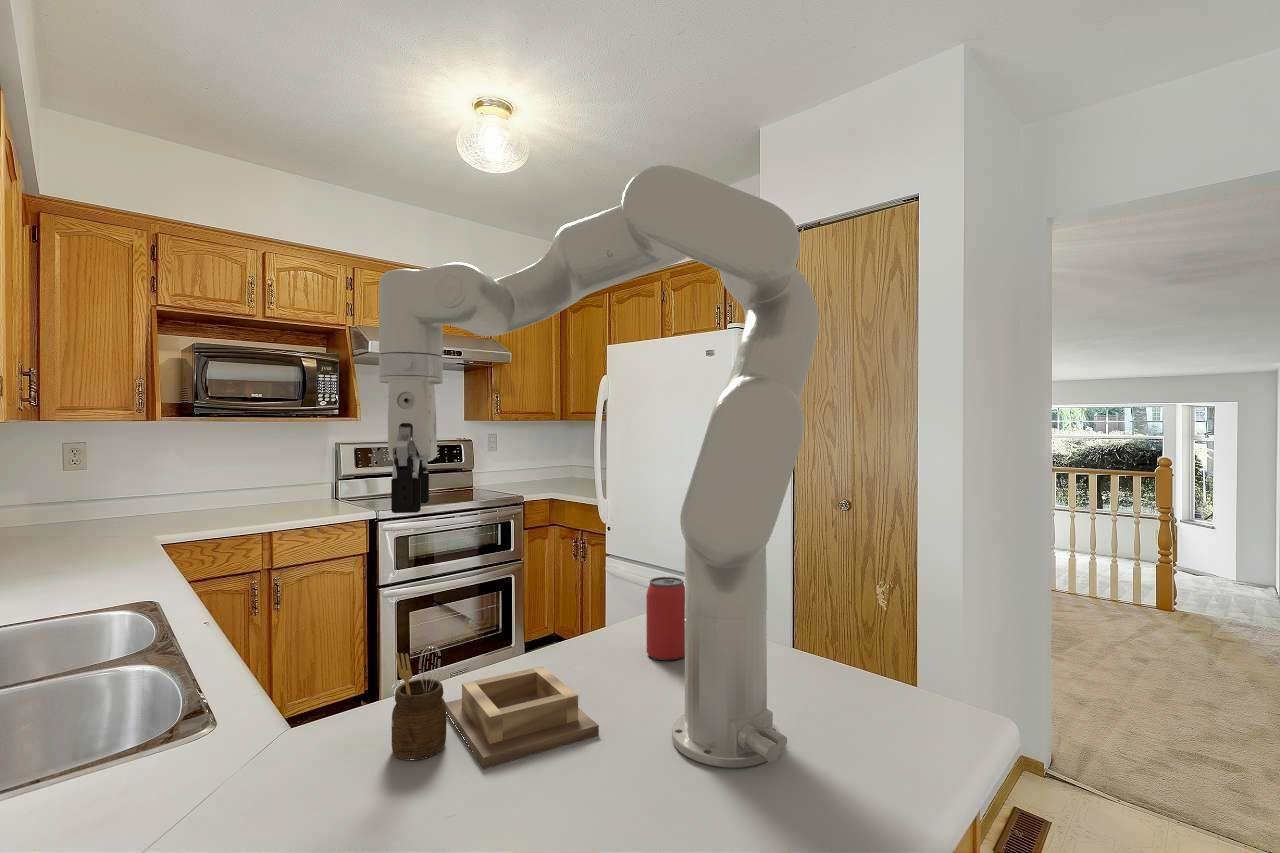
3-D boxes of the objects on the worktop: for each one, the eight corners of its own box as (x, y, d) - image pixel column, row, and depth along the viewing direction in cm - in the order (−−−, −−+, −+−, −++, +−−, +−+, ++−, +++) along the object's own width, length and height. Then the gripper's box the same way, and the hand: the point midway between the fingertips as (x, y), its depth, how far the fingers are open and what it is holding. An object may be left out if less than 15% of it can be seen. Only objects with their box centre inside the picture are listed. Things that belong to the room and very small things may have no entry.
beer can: (694, 652, 102) (694, 579, 103) (674, 665, 97) (674, 587, 97) (659, 645, 106) (659, 574, 106) (638, 657, 100) (638, 582, 100)
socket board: (598, 735, 75) (598, 699, 75) (483, 768, 67) (483, 729, 67) (545, 688, 88) (545, 658, 88) (444, 711, 81) (444, 679, 81)
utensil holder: (456, 739, 74) (456, 637, 74) (424, 767, 68) (424, 655, 68) (413, 733, 75) (413, 633, 75) (378, 759, 69) (378, 650, 69)
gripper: (436, 364, 71) (436, 515, 71) (447, 377, 88) (447, 499, 88) (365, 363, 69) (365, 518, 69) (390, 376, 86) (390, 501, 86)
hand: (411, 507), depth 78 cm, fingers open, 9 cm apart
